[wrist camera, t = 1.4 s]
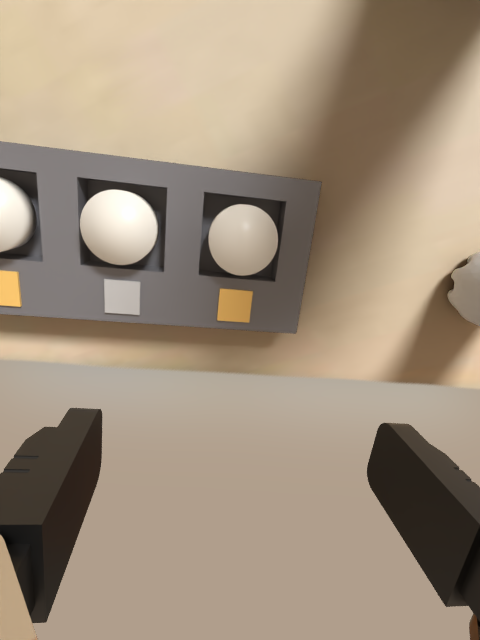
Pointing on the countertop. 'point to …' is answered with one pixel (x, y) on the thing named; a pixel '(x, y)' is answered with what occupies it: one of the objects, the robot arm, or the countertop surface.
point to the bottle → (467, 290)
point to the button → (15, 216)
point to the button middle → (119, 226)
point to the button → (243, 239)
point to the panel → (169, 251)
